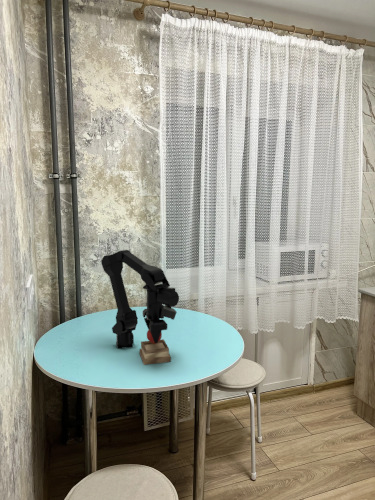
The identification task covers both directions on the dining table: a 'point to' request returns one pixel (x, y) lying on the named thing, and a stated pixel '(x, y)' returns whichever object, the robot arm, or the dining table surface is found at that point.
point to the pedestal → (154, 352)
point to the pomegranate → (151, 337)
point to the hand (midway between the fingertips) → (154, 340)
